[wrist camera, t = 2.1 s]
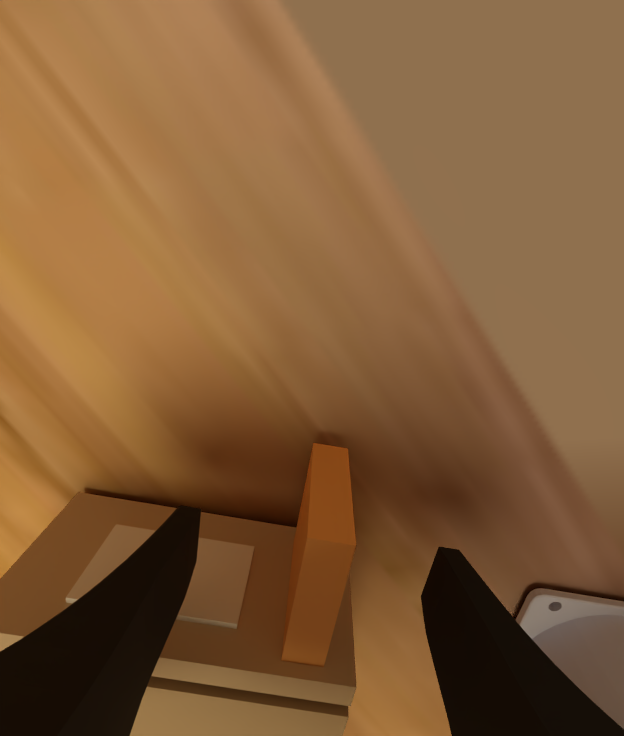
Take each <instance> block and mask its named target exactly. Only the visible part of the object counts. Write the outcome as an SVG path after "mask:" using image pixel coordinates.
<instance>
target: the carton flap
mask: <svg viewBox="0 0 624 736" xmlns="http://www.w3.org/2000/svg"><path fill="white" fill-rule="evenodd" d="M176 509H177V508H173V507H167V506H161V505H155V504H149V503H142V502H136V501H130V500H124V499H118V498H112V497H106V496H99V495H93V494H87V493H81V492H78V493H77V494H76V496H75V497H74V498H73V499H72V500H71V501H70V502H69V503H68V504H67V506H66V507H65V508H64V509H63V510H62V511H61V512H60V513H59V514H58V516H57V517H56V518H55V519H54V520H53V521H52V522H51V523H50V524H49V526H48V527H47V528H46V529H45V530H44V531H43V532H42V533H41V534H40V536H39V537H38V538H37V539H36V540H35V541H34V542H33V543H32V544H31V545H30V547H29V548H28V549H27V550H26V551H25V552H24V553H23V554H22V555H21V557H20V558H19V559H18V560H17V561H16V562H15V563H14V564H13V565H12V567H11V568H10V569H9V570H8V571H7V572H6V573H5V574H4V575H3V577H2V578H1V579H0V651H2V650H4V649H5V648H7V647H9V646H10V645H12V644H14V643H15V642H17V641H19V640H20V639H22V638H23V637H25V636H26V635H28V634H29V633H31V632H32V631H34V630H35V629H37V628H38V627H40V626H41V625H43V624H44V623H46V622H47V621H49V620H50V619H51V618H53V617H54V616H56V615H57V614H59V613H60V612H62V611H63V610H64V609H66V608H67V607H68V606H70V605H71V604H72V603H74V602H75V601H76V600H78V599H79V598H81V597H82V596H83V595H84V594H86V593H87V592H88V591H90V590H91V589H92V588H93V587H94V586H96V585H97V584H98V583H99V582H101V581H102V580H103V579H104V578H105V577H107V576H108V575H109V574H110V573H111V572H112V571H113V570H115V569H116V568H117V567H118V566H119V565H120V564H122V563H123V562H124V561H125V560H126V559H127V558H128V557H129V556H130V555H131V554H133V553H134V552H135V551H136V550H137V549H138V548H139V547H140V546H141V545H142V544H143V543H144V542H145V541H146V540H147V539H148V538H149V537H150V536H151V535H152V534H153V533H154V532H155V531H156V530H157V529H158V528H159V527H160V526H161V525H162V524H163V523H164V522H165V521H166V520H167V519H168V517H169V516H170V515H171V514H172V513H173V512H174V511H175V510H176ZM355 549H356V536H355V525H354V513H353V502H352V490H351V479H350V467H349V456H348V448H342V447H336V446H330V445H324V444H318V443H313V447H312V452H311V457H310V462H309V467H308V472H307V477H306V482H305V487H304V492H303V497H302V502H301V507H300V513H299V518H298V523H297V528H296V527H290V526H284V525H277V524H271V523H265V522H259V521H253V520H247V519H241V518H234V517H228V516H222V515H216V514H210V513H204V512H201V518H200V529H199V540H198V550H197V561H196V565H195V568H194V571H193V574H192V578H191V581H190V584H189V587H188V590H187V593H186V596H185V599H184V601H183V603H182V606H181V608H180V611H179V613H178V615H177V618H176V620H175V622H174V625H173V627H172V629H171V631H170V634H169V636H168V638H167V641H166V643H165V645H164V648H163V650H162V652H161V655H160V657H159V659H158V662H157V664H156V666H155V668H154V671H153V673H152V675H151V676H154V677H161V678H167V679H174V680H181V681H187V682H194V683H200V684H207V685H214V686H220V687H227V688H233V689H240V690H246V691H253V692H260V693H266V694H273V695H279V696H286V697H292V698H299V699H306V700H312V701H319V702H325V703H332V704H339V705H345V706H351V703H352V700H353V697H354V693H355V690H356V673H355V657H354V640H353V624H352V608H351V591H350V575H349V571H350V567H351V564H352V560H353V556H354V552H355Z"/></svg>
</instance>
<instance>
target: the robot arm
mask: <svg viewBox="0 0 624 736" xmlns="http://www.w3.org/2000/svg"><path fill="white" fill-rule="evenodd" d="M200 518H201V509H199V508H193V507H187V506H179V507H178V508H177V509H176V510H175V511H174V512H173V513H172V514H171V515H170V516H169V517H168V519H167V520H166V521H165V522H164V523H163V524H162V525H161V526H160V527H159V528H158V529H157V530H156V531H155V532H154V533H153V534H152V535H151V536H150V537H149V538H148V539H147V540H146V541H145V542H144V543H143V544H142V545H141V546H140V547H139V548H138V549H137V550H136V551H135V552H134V553H133V554H131V555H130V556H129V557H128V558H127V559H126V560H125V561H124V562H123V563H122V564H120V565H119V566H118V567H117V568H116V569H115V570H113V571H112V572H111V573H110V574H109V575H108V576H107V577H105V578H104V579H103V580H102V581H101V582H99V583H98V584H97V585H96V586H94V587H93V588H92V589H91V590H90V591H88V592H87V593H86V594H84V595H83V596H82V597H81V598H79V599H78V600H76V601H75V602H74V603H72V604H71V605H70V606H68V607H67V608H66V609H64V610H63V611H62V612H60V613H59V614H57V615H56V616H54V617H53V618H51V619H50V620H49V621H47V622H46V623H44V624H43V625H41V626H40V627H38V628H37V629H35V630H34V631H32V632H31V633H29V634H28V635H26V636H25V637H23V638H22V639H20V640H19V641H17V642H15V643H14V644H12V645H10V646H9V647H7V648H5V649H4V650H2V651H0V736H130V733H131V730H132V727H133V724H134V721H135V718H136V716H137V713H138V710H139V707H140V704H141V701H142V698H143V695H144V693H145V690H146V688H147V685H148V683H149V680H150V678H151V675H152V673H153V671H154V668H155V666H156V664H157V662H158V659H159V657H160V655H161V652H162V650H163V648H164V645H165V643H166V641H167V638H168V636H169V634H170V631H171V629H172V627H173V625H174V622H175V620H176V618H177V615H178V613H179V611H180V608H181V606H182V603H183V601H184V599H185V596H186V593H187V590H188V587H189V584H190V581H191V578H192V574H193V571H194V568H195V565H196V561H197V550H198V540H199V529H200ZM421 600H422V608H423V616H424V623H425V629H426V635H427V639H428V643H429V647H430V651H431V655H432V659H433V663H434V667H435V671H436V675H437V678H438V682H439V686H440V690H441V694H442V698H443V702H444V705H445V709H446V713H447V717H448V721H449V725H450V730H451V734H452V736H624V601H618V600H612V599H605V598H599V597H593V596H587V595H581V594H574V593H568V592H562V591H556V590H550V589H544V588H537V589H534V590H532V591H531V592H530V593H529V594H528V595H527V597H526V599H525V602H524V604H523V606H522V608H521V610H520V612H519V614H518V616H517V618H516V620H515V619H514V618H513V617H512V616H511V614H510V613H509V612H508V611H507V610H506V608H505V607H504V606H503V605H502V603H501V602H500V601H499V600H498V599H497V597H496V596H495V595H494V594H493V592H492V591H491V590H490V589H489V587H488V586H487V585H486V584H485V582H484V581H483V580H482V578H481V577H480V576H479V575H478V573H477V572H476V571H475V570H474V568H473V567H472V566H471V564H470V563H469V562H468V561H467V559H466V558H465V557H464V556H463V554H462V553H461V552H460V551H459V550H457V549H451V548H444V547H439V548H438V551H437V553H436V556H435V559H434V562H433V564H432V567H431V570H430V573H429V575H428V578H427V581H426V584H425V587H424V589H423V592H422V595H421Z"/></svg>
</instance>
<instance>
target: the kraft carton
mask: <svg viewBox="0 0 624 736" xmlns="http://www.w3.org/2000/svg"><path fill="white" fill-rule="evenodd" d="M347 720H348V706H345V705H339V704H332V703H325V702H319V701H312V700H306V699H299V698H292V697H286V696H279V695H273V694H266V693H260V692H253V691H246V690H240V689H233V688H227V687H220V686H214V685H207V684H200V683H194V682H187V681H181V680H174V679H167V678H161V677H154V676H151V678H150V680H149V683H148V685H147V688H146V690H145V693H144V695H143V698H142V701H141V704H140V707H139V710H138V713H137V716H136V718H135V721H134V724H133V727H132V730H131V733H130V736H343V733H344V729H345V726H346V723H347Z"/></svg>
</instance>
